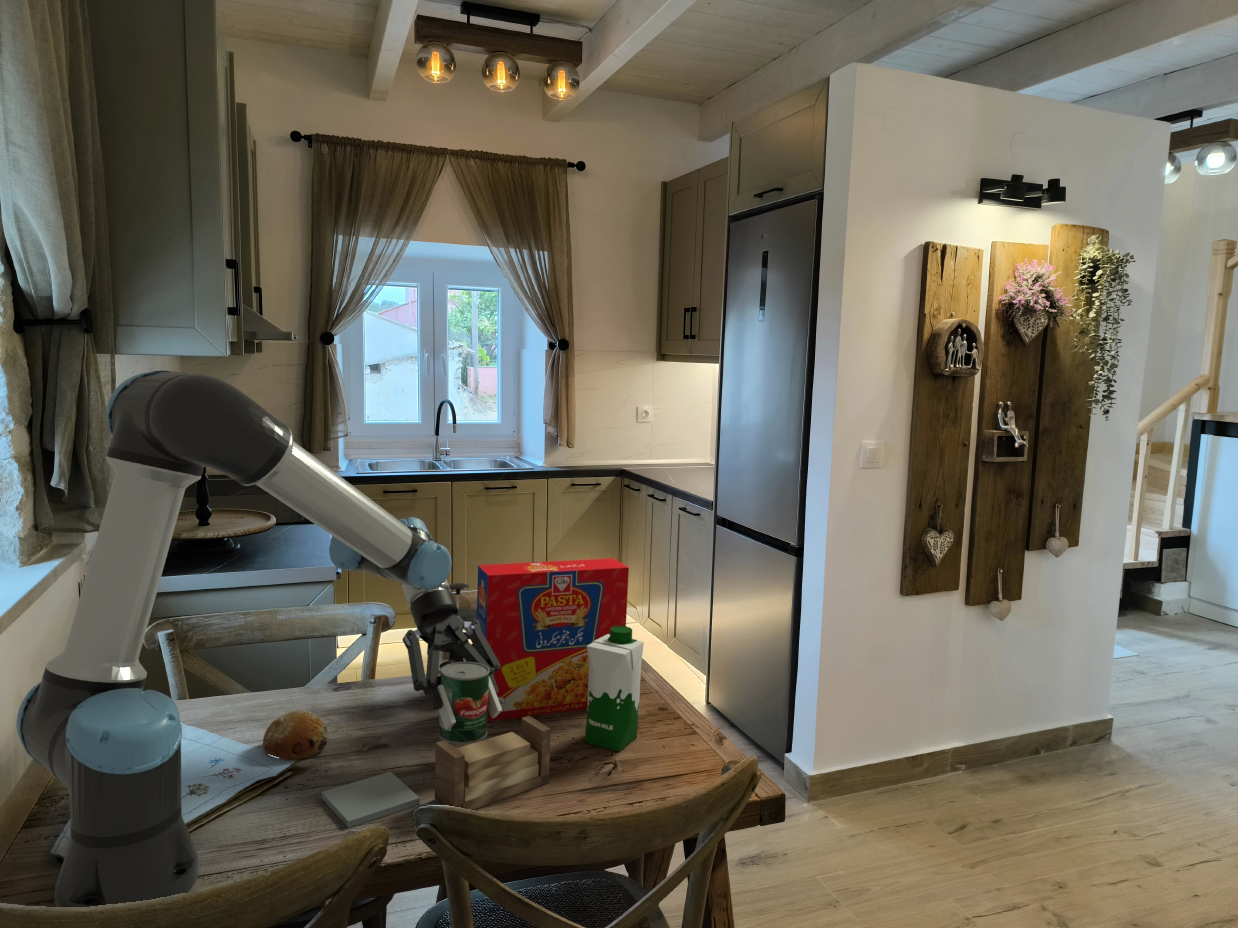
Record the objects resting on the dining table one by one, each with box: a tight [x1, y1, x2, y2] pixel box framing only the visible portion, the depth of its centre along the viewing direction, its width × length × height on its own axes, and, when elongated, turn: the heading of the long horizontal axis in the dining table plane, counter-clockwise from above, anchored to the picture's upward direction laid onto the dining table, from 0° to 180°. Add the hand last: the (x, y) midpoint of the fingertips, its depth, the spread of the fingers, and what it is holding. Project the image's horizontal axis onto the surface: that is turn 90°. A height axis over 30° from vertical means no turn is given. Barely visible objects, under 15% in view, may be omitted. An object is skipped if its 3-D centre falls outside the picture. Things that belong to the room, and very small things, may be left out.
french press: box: [437, 582, 477, 687], centre depth 163 cm, size 12×9×23 cm
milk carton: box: [584, 625, 645, 753], centre depth 147 cm, size 9×9×20 cm
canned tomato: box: [438, 662, 490, 745], centre depth 135 cm, size 8×8×11 cm
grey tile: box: [321, 771, 421, 829], centre depth 123 cm, size 11×10×1 cm
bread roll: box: [262, 710, 330, 761], centre depth 139 cm, size 10×10×8 cm
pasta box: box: [476, 557, 630, 723], centre depth 160 cm, size 28×8×28 cm, turn 113°
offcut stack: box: [455, 731, 539, 802], centre depth 128 cm, size 13×5×6 cm, turn 130°
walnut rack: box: [434, 716, 552, 810], centre depth 128 cm, size 17×6×9 cm, turn 130°
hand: (474, 719), depth 132 cm, fingers closed on canned tomato, 8 cm apart
